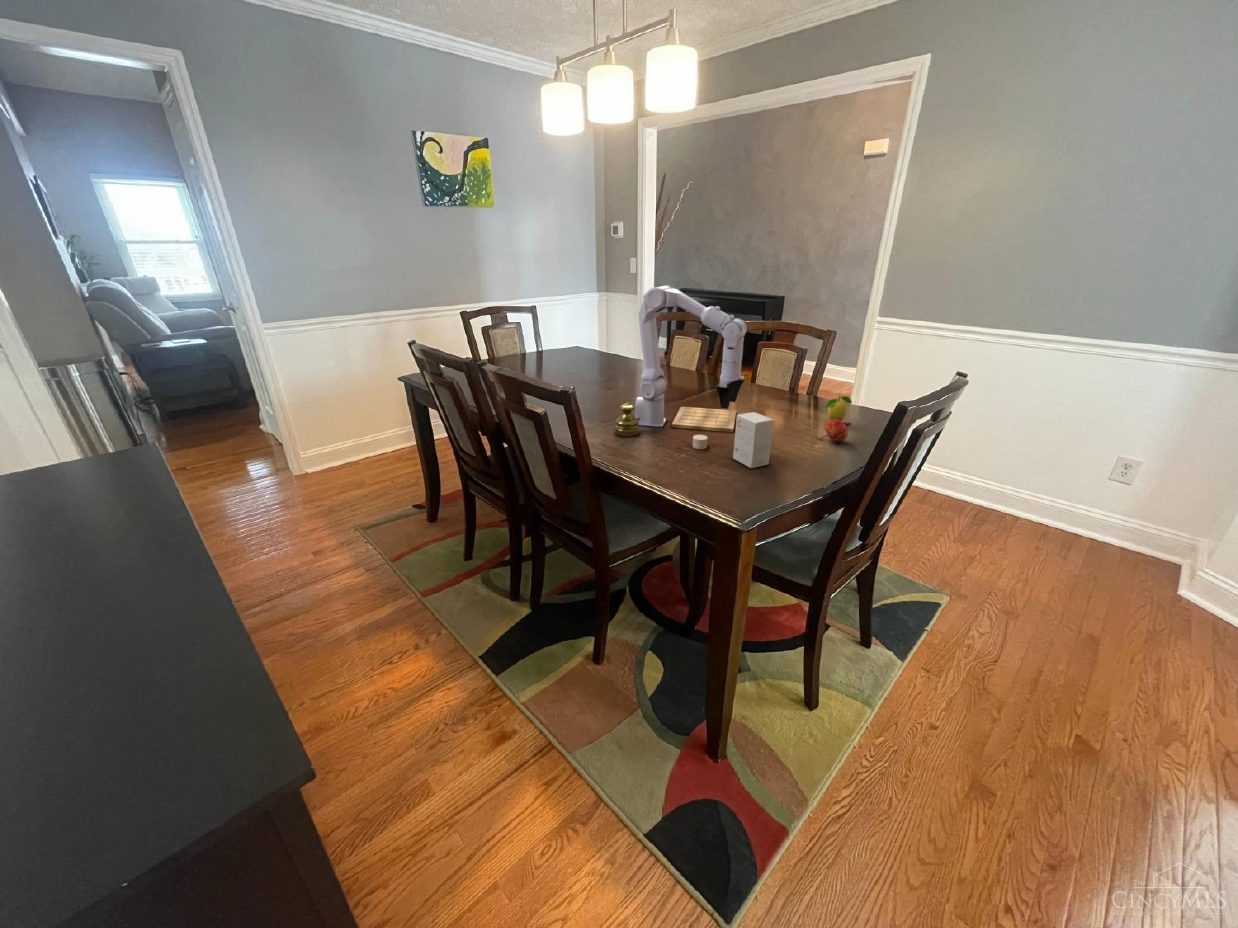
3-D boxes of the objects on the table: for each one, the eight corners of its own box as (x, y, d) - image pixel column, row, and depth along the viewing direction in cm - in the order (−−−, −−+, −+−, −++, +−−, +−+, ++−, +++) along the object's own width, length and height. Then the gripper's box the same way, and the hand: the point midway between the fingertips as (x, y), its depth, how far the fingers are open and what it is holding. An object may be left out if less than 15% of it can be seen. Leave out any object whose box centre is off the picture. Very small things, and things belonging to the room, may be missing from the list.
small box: (769, 464, 134) (774, 419, 129) (750, 469, 132) (755, 423, 127) (749, 454, 141) (754, 411, 136) (732, 458, 139) (736, 414, 133)
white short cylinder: (691, 448, 146) (691, 439, 145) (693, 443, 150) (693, 434, 148) (706, 449, 145) (706, 440, 144) (707, 444, 149) (708, 435, 147)
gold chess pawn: (612, 431, 160) (611, 401, 156) (632, 428, 163) (632, 399, 159) (621, 438, 154) (621, 408, 150) (642, 435, 157) (643, 404, 153)
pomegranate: (822, 451, 149) (854, 437, 143) (810, 430, 149) (841, 415, 143) (827, 446, 155) (858, 432, 148) (816, 426, 155) (846, 411, 149)
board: (671, 427, 163) (671, 423, 163) (680, 409, 181) (680, 406, 180) (733, 432, 158) (733, 428, 158) (736, 413, 176) (736, 410, 175)
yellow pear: (848, 422, 166) (853, 393, 162) (842, 426, 162) (848, 397, 158) (828, 418, 170) (833, 390, 166) (822, 422, 166) (827, 394, 162)
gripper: (737, 367, 139) (733, 412, 145) (751, 358, 151) (747, 400, 156) (714, 364, 143) (711, 409, 148) (729, 355, 154) (726, 397, 160)
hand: (728, 404), depth 152 cm, fingers open, 7 cm apart
